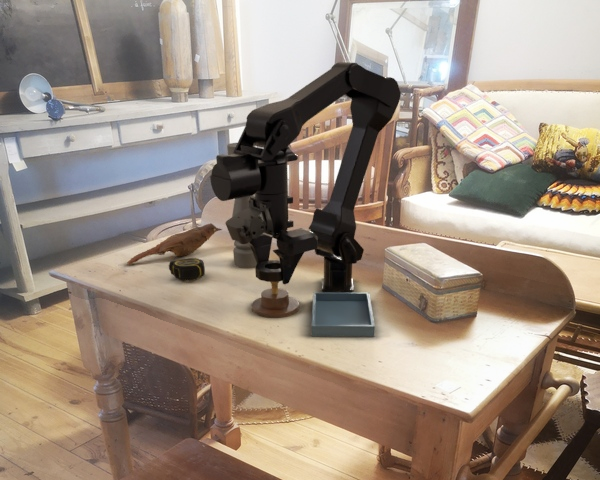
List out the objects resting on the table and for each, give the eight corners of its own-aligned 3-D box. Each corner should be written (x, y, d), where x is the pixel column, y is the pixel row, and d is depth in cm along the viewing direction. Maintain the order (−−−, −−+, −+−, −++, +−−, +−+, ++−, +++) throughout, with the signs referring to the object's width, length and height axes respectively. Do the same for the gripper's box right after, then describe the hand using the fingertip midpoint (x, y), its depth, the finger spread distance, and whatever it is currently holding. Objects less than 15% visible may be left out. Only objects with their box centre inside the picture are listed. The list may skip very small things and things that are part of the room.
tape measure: (200, 270, 130) (198, 254, 128) (209, 281, 125) (207, 263, 123) (169, 275, 128) (167, 258, 126) (177, 286, 123) (175, 268, 121)
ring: (257, 269, 112) (257, 259, 111) (292, 269, 112) (292, 259, 111) (254, 281, 107) (253, 272, 106) (291, 282, 106) (290, 272, 105)
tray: (313, 301, 115) (313, 292, 114) (368, 302, 115) (369, 292, 114) (311, 336, 102) (311, 325, 101) (374, 336, 102) (375, 326, 101)
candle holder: (257, 268, 131) (251, 147, 118) (230, 267, 132) (221, 146, 119) (264, 259, 136) (259, 142, 123) (238, 258, 137) (231, 141, 124)
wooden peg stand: (254, 298, 117) (252, 266, 113) (299, 298, 116) (299, 267, 113) (249, 317, 109) (247, 284, 106) (298, 318, 109) (297, 284, 105)
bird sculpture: (126, 271, 137) (119, 251, 134) (217, 234, 148) (213, 214, 144) (138, 280, 133) (131, 259, 130) (231, 241, 143) (227, 221, 140)
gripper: (202, 188, 103) (210, 274, 112) (263, 209, 91) (267, 304, 99) (255, 179, 109) (259, 261, 117) (319, 198, 97) (319, 289, 105)
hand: (274, 278), depth 110 cm, fingers closed on ring, 7 cm apart
